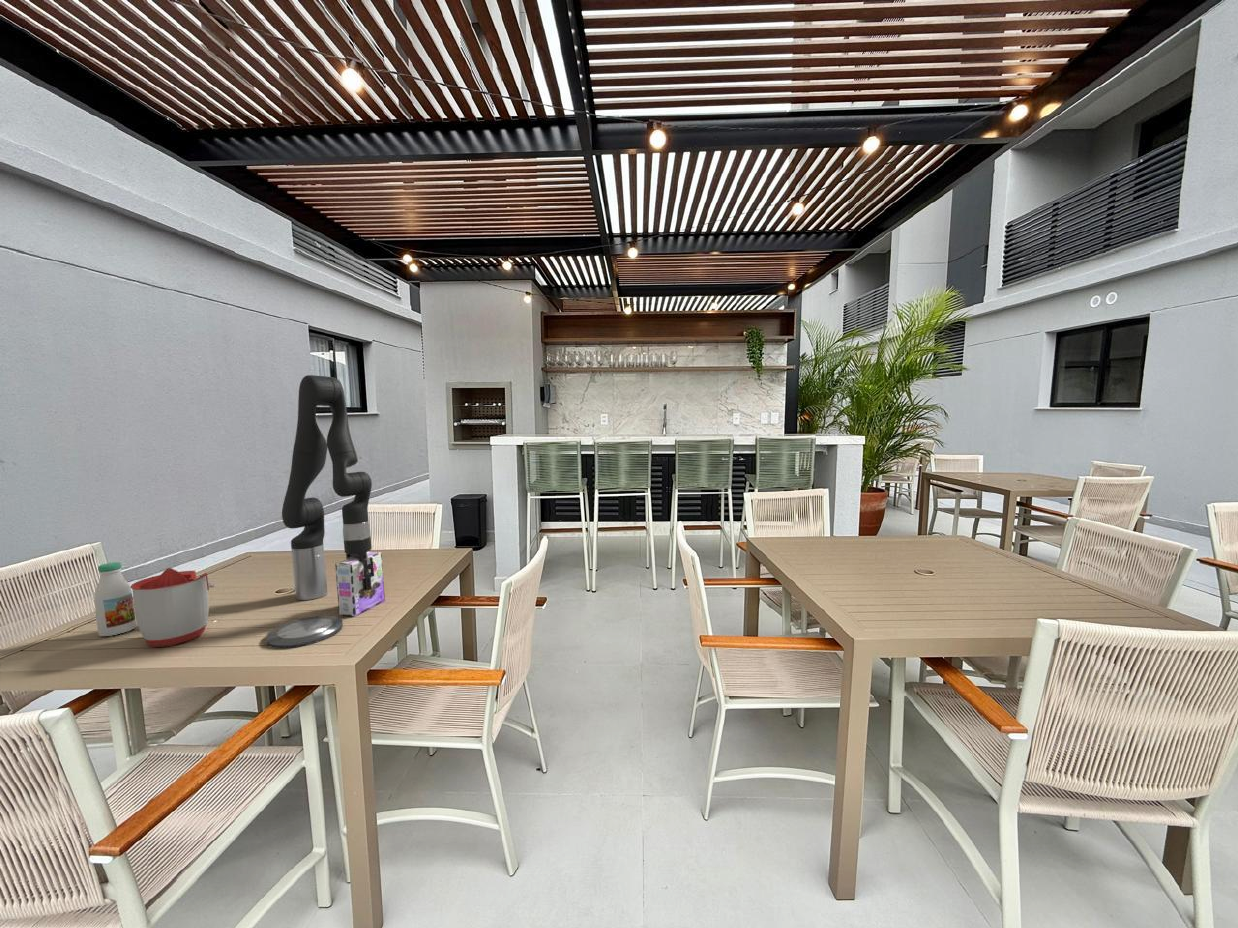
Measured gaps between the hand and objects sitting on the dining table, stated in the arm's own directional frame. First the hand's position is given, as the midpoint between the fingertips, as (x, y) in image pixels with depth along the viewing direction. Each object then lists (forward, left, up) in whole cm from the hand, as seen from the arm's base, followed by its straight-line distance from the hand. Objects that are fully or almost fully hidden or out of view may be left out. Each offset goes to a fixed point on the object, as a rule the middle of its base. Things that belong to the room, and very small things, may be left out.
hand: (361, 587), depth 157 cm
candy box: (0, 0, -7) cm, 7 cm away
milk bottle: (-39, -52, -7) cm, 66 cm away
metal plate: (+7, -18, -7) cm, 20 cm away
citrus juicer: (-19, -41, -7) cm, 46 cm away
